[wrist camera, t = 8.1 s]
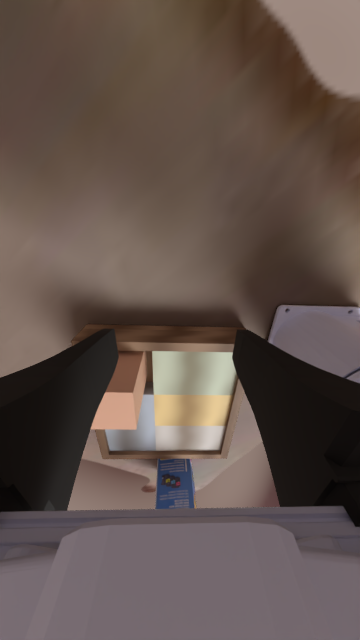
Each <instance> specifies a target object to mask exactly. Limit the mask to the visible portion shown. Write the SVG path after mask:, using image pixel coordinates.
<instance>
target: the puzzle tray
mask: <svg viewBox="0 0 360 640" xmlns="http://www.w3.org/2000/svg"><path fill="white" fill-rule="evenodd" d="M104 328H107V329H114V330H115V336H116V343H117V349H118V351H146V359H147V378H146V383H145V388H144V393H143V398H142V403H141V409H140V414H139V419H138V424H137V429H136V430H122V429H95V432H96V436H97V440H98V443H99V447H100V451H101V455H102V458H103V459H218V458H227V456H228V452H229V448H230V444H231V441H232V437H233V433H234V429H235V425H236V422H237V418H238V414H239V410H240V406H241V402H242V399H243V395H244V389H243V387H242V385H241V383H240V380H239V378H238V376H237V373H236V370H235V367H234V363H233V360H232V355H233V349H234V343H235V338H236V332H237V330H246V329H245V328H243V327H195V326H147V325H100V324H87V325H86V326H85V327H84V328H83V329H82V330H81V331H80V332H79V333H78V334H77V335H76V337H75V338H74V339H73V340H72V341H71V342H72V346H73V345H75V344H77V343H79V342H80V341H82V340H84V339H86V338H87V337H89V336H91V335H92V334H94V333H96V332H98V331H99V330H101V329H104Z"/></svg>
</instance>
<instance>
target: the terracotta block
mask: <svg viewBox="0 0 360 640" xmlns="http://www.w3.org/2000/svg"><path fill="white" fill-rule="evenodd" d="M118 355H119V358H118V362H117V365H116V369H115V372H114V374H113V376H112V379H111V381H110V383H109V385H108V387H107V390H106V392H105V394H104V396H103V398H102V400H101V403H100V405H99V407H98V410H97V412H96V414H95V417H94V420H93V423H92V426H91V429H122V430H136V429H137V424H138V419H139V414H140V409H141V403H142V398H143V393H144V388H145V383H146V378H147V359H146V351H118Z"/></svg>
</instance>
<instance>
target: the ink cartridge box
mask: <svg viewBox="0 0 360 640" xmlns="http://www.w3.org/2000/svg"><path fill="white" fill-rule="evenodd" d="M192 508H196V498H195V486H194V477H193V469H192V461H191V459H158V462H157V483H156V505H155V509H192Z"/></svg>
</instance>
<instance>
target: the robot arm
mask: <svg viewBox="0 0 360 640" xmlns="http://www.w3.org/2000/svg"><path fill="white" fill-rule="evenodd" d="M287 308H288V310H287V311H285V310H286V309H287ZM348 311H349V312H348ZM118 358H119V355H118V349H117V343H116V336H115V330H114V329H107V328H104V329H101V330H99V331H98V332H96V333H94V334H92V335H91V336H89V337H87V338H86V339H84V340H82V341H80V342H79V343H77V344H75V345H73V346H72V347H70V348H68V349H66V350H64V351H62V352H61V353H59V354H57V355H55V356H53V357H51V358H49V359H46V360H44V361H42V362H40V363H37V364H35V365H33V366H30V367H28V368H25V369H23V370H20V371H17V372H15V373H12V374H9V375H7V376H4V377H1V378H0V640H360V307H343V306H304V305H280V306H279V307H278V308H277V311H276V314H275V317H274V321H273V324H272V328H271V331H270V335H269V338H268V341H266V340H265V339H263V338H261V337H260V336H258V335H256V334H255V333H253V332H251V331H249V330H237V332H236V338H235V343H234V349H233V355H232V360H233V363H234V367H235V370H236V373H237V376H238V378H239V380H240V383H241V385H242V387H243V389H244V392H245V394H246V396H247V398H248V401H249V403H250V405H251V408H252V410H253V413H254V415H255V419H256V422H257V425H258V428H259V431H260V434H261V437H262V441H263V444H264V447H265V451H266V454H267V458H268V461H269V465H270V469H271V472H272V476H273V480H274V484H275V488H276V492H277V496H278V500H279V504H280V507H253V508H192V509H138V510H135V509H134V510H80V511H79V510H76V511H67V508H68V504H69V501H70V497H71V493H72V489H73V485H74V482H75V478H76V474H77V471H78V468H79V464H80V461H81V457H82V454H83V451H84V448H85V445H86V441H87V438H88V435H89V432H90V429H91V426H92V423H93V420H94V417H95V414H96V412H97V410H98V407H99V405H100V403H101V400H102V398H103V396H104V394H105V392H106V390H107V387H108V385H109V383H110V381H111V379H112V376H113V374H114V372H115V369H116V365H117V362H118Z"/></svg>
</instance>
